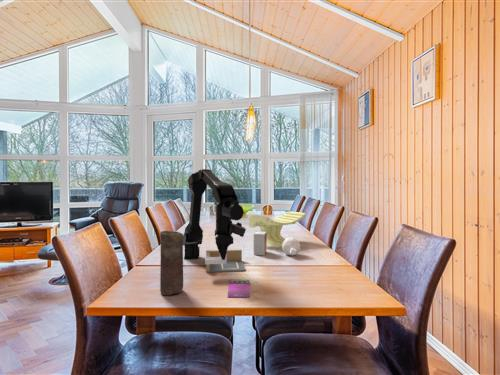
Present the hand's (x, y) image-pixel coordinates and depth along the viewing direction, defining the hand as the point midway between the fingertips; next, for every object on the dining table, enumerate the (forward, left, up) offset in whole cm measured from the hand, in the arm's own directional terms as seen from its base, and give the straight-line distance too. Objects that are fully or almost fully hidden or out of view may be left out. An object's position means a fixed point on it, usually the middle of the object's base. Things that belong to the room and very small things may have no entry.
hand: (223, 258), depth 113 cm
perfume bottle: (+34, +28, -7) cm, 45 cm away
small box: (+20, +34, -7) cm, 40 cm away
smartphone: (+5, -13, -8) cm, 16 cm away
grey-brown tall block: (-18, -13, -7) cm, 23 cm away
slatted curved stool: (+34, +55, -7) cm, 65 cm away
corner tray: (+1, +14, -7) cm, 15 cm away
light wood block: (-3, 0, -2) cm, 3 cm away
